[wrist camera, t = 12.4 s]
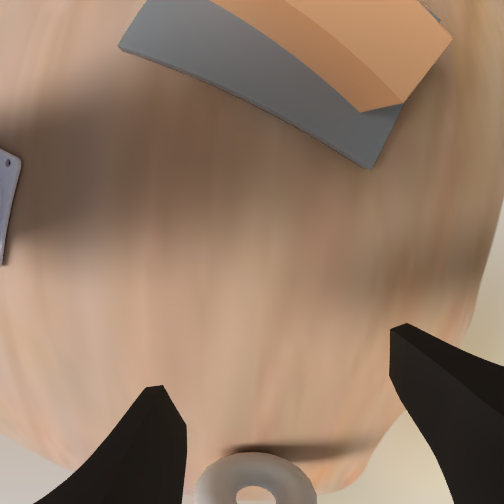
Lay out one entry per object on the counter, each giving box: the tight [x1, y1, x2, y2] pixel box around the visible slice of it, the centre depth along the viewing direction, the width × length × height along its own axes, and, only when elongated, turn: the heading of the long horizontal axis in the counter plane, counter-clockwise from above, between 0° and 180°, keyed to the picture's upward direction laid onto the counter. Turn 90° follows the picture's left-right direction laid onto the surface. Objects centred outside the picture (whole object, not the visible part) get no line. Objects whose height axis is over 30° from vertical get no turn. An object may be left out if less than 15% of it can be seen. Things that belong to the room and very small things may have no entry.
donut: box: [193, 452, 317, 504], centre depth 19 cm, size 10×4×10 cm, turn 81°
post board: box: [117, 0, 440, 170], centre depth 12 cm, size 15×12×4 cm
